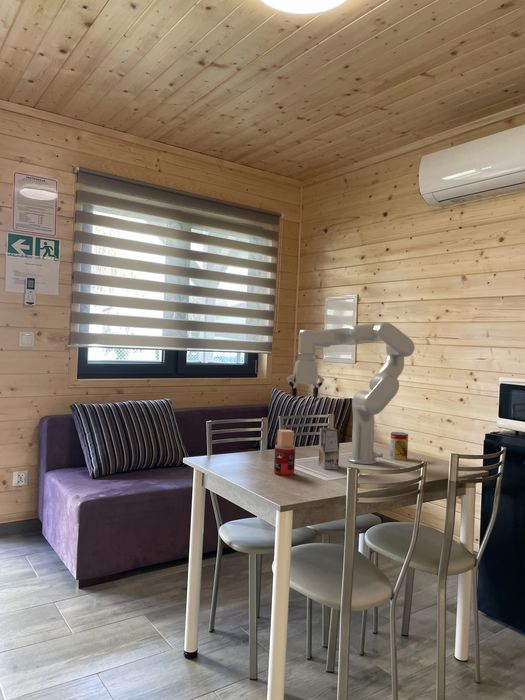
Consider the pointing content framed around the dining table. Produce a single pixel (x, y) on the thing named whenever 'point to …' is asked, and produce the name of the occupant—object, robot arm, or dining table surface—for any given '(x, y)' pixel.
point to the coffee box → (329, 448)
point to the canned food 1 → (284, 460)
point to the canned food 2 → (399, 446)
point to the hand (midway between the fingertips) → (304, 397)
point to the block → (285, 438)
